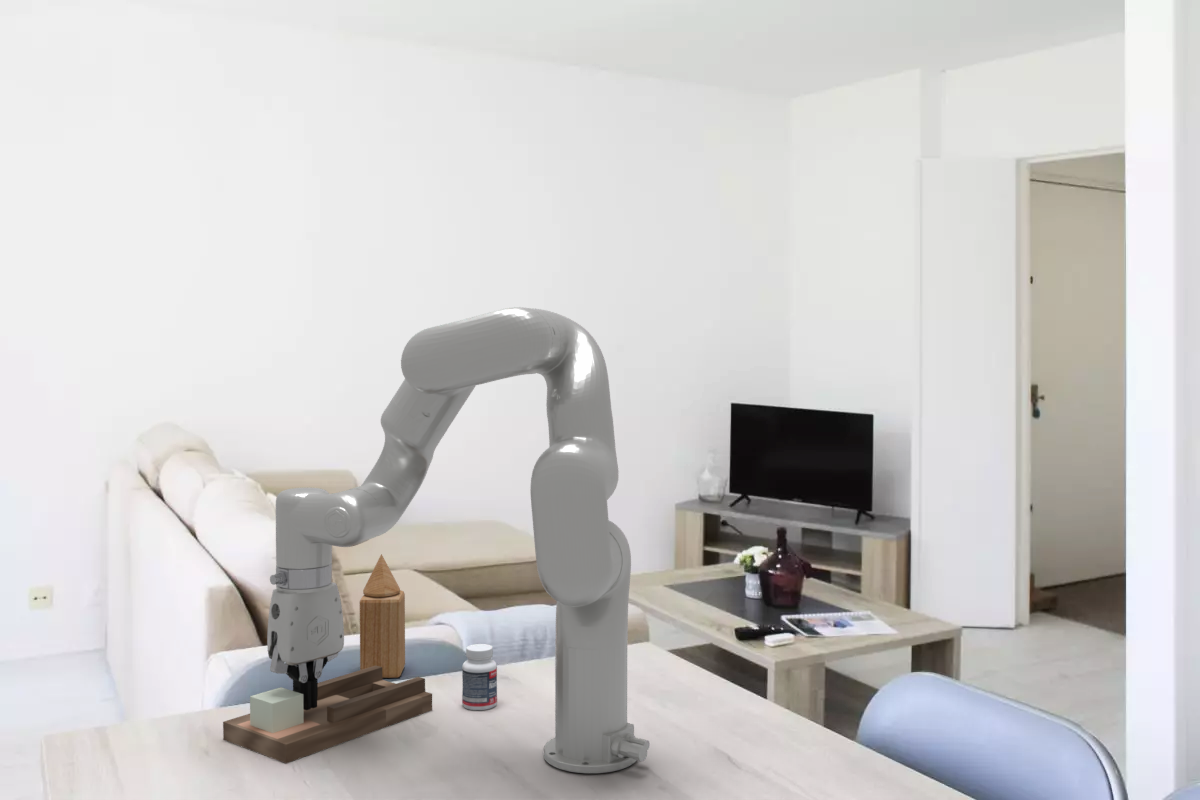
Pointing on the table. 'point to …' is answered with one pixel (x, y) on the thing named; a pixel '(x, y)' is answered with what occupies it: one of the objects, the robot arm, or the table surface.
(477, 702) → the pill bottle
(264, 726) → the sage block
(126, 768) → the table surface
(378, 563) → the decorative item
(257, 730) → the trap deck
